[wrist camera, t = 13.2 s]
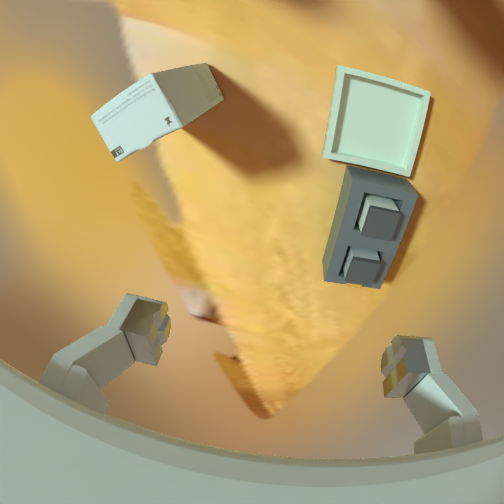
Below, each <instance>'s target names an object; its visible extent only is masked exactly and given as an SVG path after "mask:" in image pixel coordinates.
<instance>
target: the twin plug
mask: <svg viewBox="0 0 504 504" xmlns="http://www.w3.org/2000/svg"><path fill="white" fill-rule="evenodd" d="M342 264H343V270H344V277H345V283H351V284H359V285H366V286H372V284H373V282H374V280H375V277H376V275H377V273H378V271H379V268H380V266H381V262H380V259H379V256H378V253H377V251H375V250H370V249H364V248H358V247H352V246H348V248H347V251H346V254H345V257H344V260H343V263H342Z"/></svg>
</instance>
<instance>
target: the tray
mask: <svg viewBox="0 0 504 504" xmlns="http://www.w3.org/2000/svg"><path fill="white" fill-rule="evenodd" d="M430 95H431V92H429V91H426V90H424V89H421V88H418V87H415V86H412V85H410V84H407V83H403V82H400V81H397V80H394V79H391V78H387V77H384V76H380V75H377V74H373V73H369V72H366V71H362V70H357V69H353V68H349V67H344V66H340V65H337V67H336V74H335V81H334V88H333V94H332V101H331V107H330V113H329V119H328V125H327V131H326V137H325V142H324V148H323V153H322V154H323V158H327V159H333V160H338V161H343V162H348V163H353V164H357V165H362V166H367V167H371V168H375V169H380V170H384V171H388V172H392V173H396V174H400V175H404V176H408V177H410V174H411V171H412V167H413V164H414V160H415V157H416V153H417V150H418V146H419V142H420V138H421V134H422V130H423V126H424V122H425V118H426V113H427V109H428V104H429V99H430Z"/></svg>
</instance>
